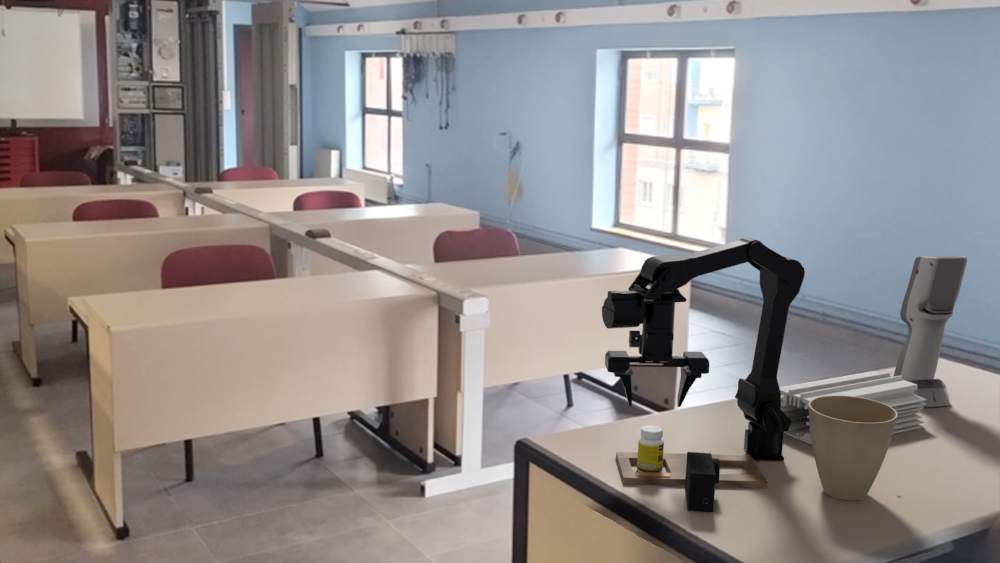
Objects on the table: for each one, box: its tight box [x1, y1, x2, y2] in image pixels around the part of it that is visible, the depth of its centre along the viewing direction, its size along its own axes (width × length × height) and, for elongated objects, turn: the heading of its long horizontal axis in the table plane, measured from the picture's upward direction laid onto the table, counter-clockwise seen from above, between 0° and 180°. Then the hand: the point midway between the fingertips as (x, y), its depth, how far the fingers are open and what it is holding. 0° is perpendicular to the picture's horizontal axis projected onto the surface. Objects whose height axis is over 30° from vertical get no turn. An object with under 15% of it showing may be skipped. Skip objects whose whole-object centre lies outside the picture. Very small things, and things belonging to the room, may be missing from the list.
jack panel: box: [615, 451, 769, 489], centre depth 188 cm, size 26×13×1 cm, turn 90°
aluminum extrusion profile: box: [779, 370, 926, 446], centre depth 215 cm, size 14×31×10 cm, turn 120°
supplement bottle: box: [636, 424, 665, 473], centre depth 187 cm, size 5×5×8 cm
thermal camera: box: [892, 255, 968, 409], centre depth 233 cm, size 12×13×35 cm
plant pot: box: [808, 395, 898, 502], centre depth 179 cm, size 15×15×16 cm
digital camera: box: [684, 451, 721, 514], centre depth 175 cm, size 10×5×7 cm, turn 173°
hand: (654, 406), depth 189 cm, fingers open, 9 cm apart
